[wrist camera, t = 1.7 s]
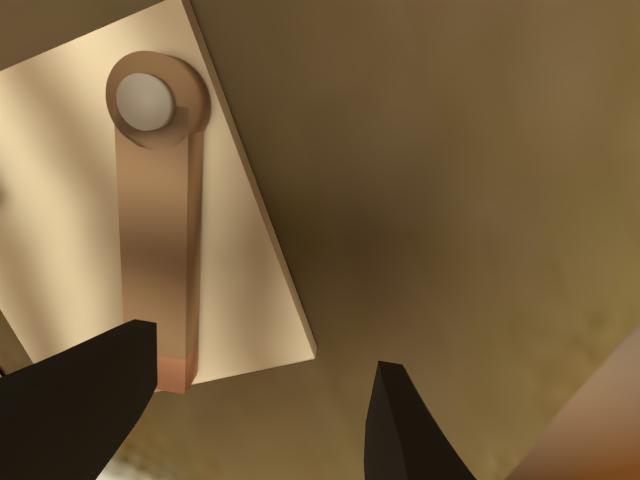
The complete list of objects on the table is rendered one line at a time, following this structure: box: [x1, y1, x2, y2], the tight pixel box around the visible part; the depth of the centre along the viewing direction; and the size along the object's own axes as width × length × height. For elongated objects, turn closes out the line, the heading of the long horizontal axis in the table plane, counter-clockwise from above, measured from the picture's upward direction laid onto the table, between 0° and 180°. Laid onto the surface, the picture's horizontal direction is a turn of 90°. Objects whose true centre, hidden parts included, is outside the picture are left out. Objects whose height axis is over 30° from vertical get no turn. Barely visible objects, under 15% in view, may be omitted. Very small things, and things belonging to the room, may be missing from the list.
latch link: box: [106, 51, 211, 394], centre depth 18 cm, size 15×4×2 cm, turn 173°
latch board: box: [0, 0, 317, 392], centre depth 20 cm, size 16×17×1 cm
